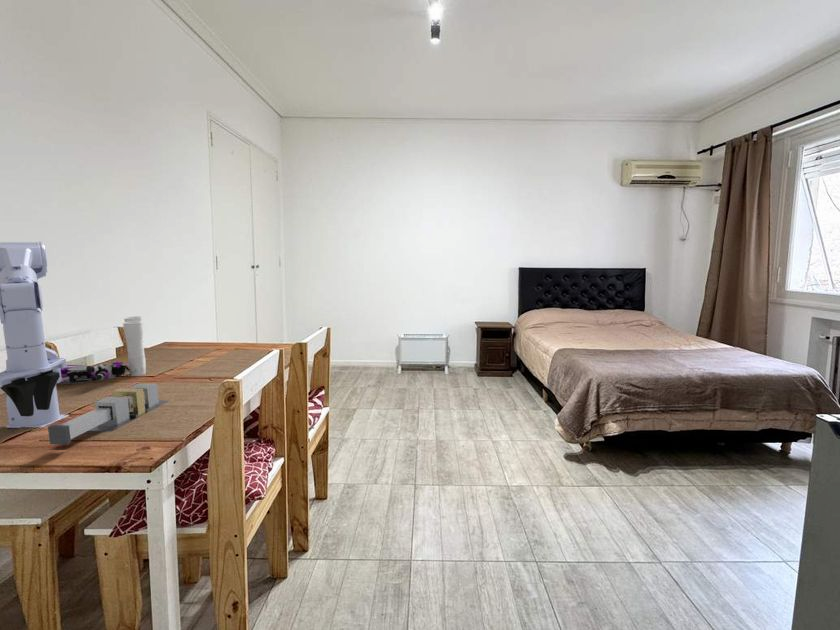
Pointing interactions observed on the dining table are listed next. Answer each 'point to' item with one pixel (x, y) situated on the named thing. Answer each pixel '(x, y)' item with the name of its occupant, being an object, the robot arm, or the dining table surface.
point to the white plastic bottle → (135, 345)
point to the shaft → (80, 425)
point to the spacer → (136, 398)
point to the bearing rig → (122, 409)
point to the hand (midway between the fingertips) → (35, 412)
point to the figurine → (92, 372)
